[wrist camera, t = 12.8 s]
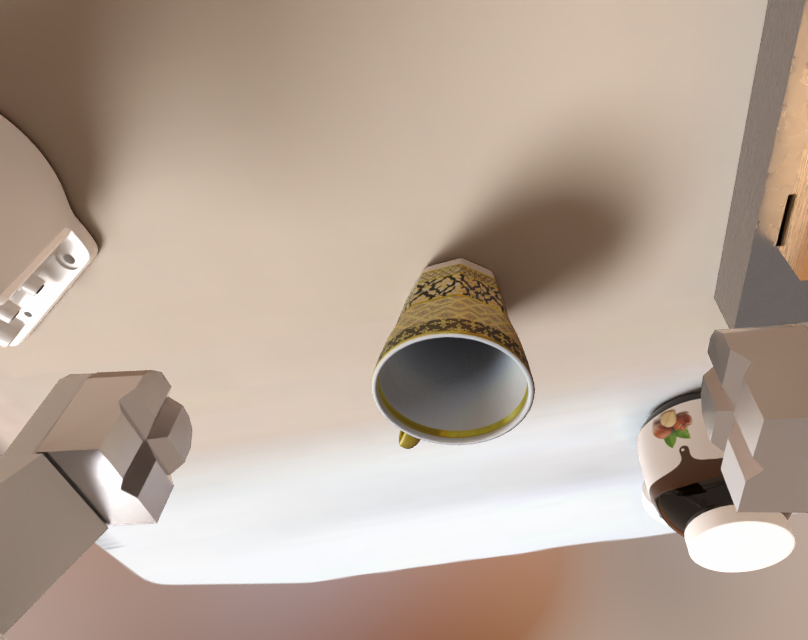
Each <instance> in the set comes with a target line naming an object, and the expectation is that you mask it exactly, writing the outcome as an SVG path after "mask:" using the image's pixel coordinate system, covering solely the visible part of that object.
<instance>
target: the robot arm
mask: <svg viewBox="0 0 808 640" xmlns="http://www.w3.org/2000/svg"><path fill="white" fill-rule="evenodd" d="M97 253H98V247H97V244H96V242H95V241H94V239H93V238H92V236H91V235H90V234H89V232H88V231H87V230H86V229H85V227H84V226H83V225H82V224H81V223H80V222H79V220H78V219H77V218H76V217H75V215H74V214H73V212H72V210H71V208H70V206H69V203H68V201H67V198H66V195H65V193H64V190H63V188H62V186H61V183H60V181H59V180H58V178H57V176H56V174H55V172H54V171H53V169H52V167H51V166H50V165H49V163H48V162H47V160H46V159H45V158H44V156H43V155H42V154H41V152H40V151H39V150H38V149H37V148H36V146H35V145H34V144H33V143H32V142H31V141H30V140H29V139H28V138H27V137H26V136H25V135H24V134H23V133H22V132H21V131H20V130H19V129H18V128H16V127H15V126H14V125H13V124H12V123H11V122H9V121H8V120H7V119H6V118H4V117H3V116H2V115H0V346H1V347H2V348H3V347H5V348H7V347H8V346H17V345H19V344H21V343H22V342H23V341H24V340H25V339H26V338H27V337H28V336H29V335H30V334H31V333H32V331H33V330H34V329H35V328H36V327H37V326H38V324H39V323H40V322H41V321H42V320H43V318H44V317H45V316H46V315H47V314H48V312H49V311H50V310H51V309H52V308H53V307H54V305H55V304H56V303H57V302H58V301H59V299H60V298H61V297H62V296H63V295H64V294H65V292H66V291H67V290H68V289H69V288H70V286H71V285H72V284H73V283H74V282H75V281H76V279H77V278H78V277H79V276H80V275H81V273H82V272H83V271H84V270H85V269H86V268H87V266H88V265H89V264H90V263H91V262H92V260H93V259H94V258H95V257H96V255H97ZM70 255H71V256H72V257H71V256H70ZM708 354H709V357H710V359H711V361H712V364H713V366H714V367H713V368H711V369H710V370H709V371H708V372H707V373H706V374H705V375H703V381H702V388H701V406H702V415H703V419H704V424H705V428H706V430H707V433H708V436H709V439H710V442H711V443H713V444H714V445H715V446H717V447H718V448H719V449H721V450H722V451H723V452H725V453H724V457H723V461H722V466H721V471H722V474H723V477H724V479H725V482H726V484H727V487H728V490H729V492H730V495H731V497H732V500H733V503H734V505H735V508H736V511H737V512H774V513H808V322H805V323H798V324H786V325H773V326H760V327H747V328H735V329H722V330H715V331H714V333H713V334H712V336H711V338H710V342H709V347H708ZM170 390H171V385H170V384H169V382H168V381H167V379H166V378H165V376H164V375H163V374H162V372H158V371H153V370H143V371H121V372H98V373H94V374H70V375H68V376H66V377H64V378H62V379H60V380H59V381H58V382H57V384H56V385H55V386H54V388H53V389H52V390H51V392H50V393H49V394H48V396H47V397H46V398H45V400H44V401H43V402H42V404H41V405H40V406H39V408H38V409H37V410H36V412H35V413H34V414H33V416H32V417H31V418H30V420H29V421H28V422H27V424H26V425H25V426H24V428H23V429H22V431H21V432H20V433H19V435H18V436H17V437H16V439H15V440H14V441H13V443H12V444H11V445H10V447H9V448H8V449H7V451H6V452H5V453H4V455H0V640H9V639H8V638H6V637H5V636H4V634H5V633H6V632H7V631H8V630H9V629H10V628H11V627H12V626H13V625H14V624H15V623H16V622H17V621H18V620H19V619H20V618H21V617H22V616H23V614H25V612H27V610H28V609H29V608H30V607H31V606H32V605H33V604H34V603H35V602H36V601H37V600H38V599H39V598H40V597H41V596H42V595H43V594H44V593H45V592H46V591H47V590H48V589H49V588H50V587H51V586H52V585H53V584H54V583H55V582H56V581H57V580H58V579H59V578H60V577H61V576H62V575H63V574H64V573H65V572H66V571H67V570H68V569H69V568H70V567H71V566H72V565H73V564H74V563H75V562H76V560H78V558H79V557H81V556H82V554H83V553H84V552H85V551H86V550H87V549H88V548H89V547H90V546H91V545H92V544H93V543H94V542H95V541H96V540H97V539H98V538H99V537H100V536H101V535H102V534H103V533H104V532H105V531H106V530H107V529H108V527H107V526H108V525H128V524H149V523H157V522H158V520H159V517H160V515H161V513H162V511H163V509H164V506H165V504H166V502H167V500H168V498H169V495H170V493H171V491H172V489H173V487H174V485H173V482H172V479H171V475H170V474H172V473H173V472H174V471H175V470H176V469H177V468H179V467H180V466H181V465H182V464H183V463H184V462H185V460H186V457H187V455H188V453H189V450H190V448H191V439H192V426H191V422H190V418H189V415H188V414H187V412H186V410H185V408H184V407H183V406H182V405H181V404H179V403H178V402H176V401H174V400H173V399H171V398H170V397H169V393H170Z"/></svg>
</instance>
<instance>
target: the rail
mask: <svg viewBox="0 0 808 640" xmlns="http://www.w3.org/2000/svg"><path fill="white" fill-rule="evenodd" d="M807 136H808V0H768V6H767V11H766V17H765V22H764V28H763V33H762V39H761V44H760V50H759V55H758V61H757V66H756V71H755V77H754V82H753V88H752V93H751V99H750V104H749V110H748V115H747V121H746V126H745V132H744V137H743V143H742V148H741V154H740V159H739V165H738V170H737V176H736V181H735V187H734V192H733V198H732V203H731V209H730V214H729V219H728V225H727V230H726V236H725V241H724V247H723V252H722V258H721V263H720V269H719V274H718V280H717V285H716V291H715V296H714V299H715V301H716V303H717V305H718V307H719V309H720V311H721V313H722V315H723V317H724V319H725V321H726V323H727V325H728V327H729V329H735V328H747V327H760V326H773V325H786V324H798V323H805V322H808V280H802V281H800V280H799V278H798V277H797V275H796V274H795V272H794V271H793V269H792V268H791V267H790V265H789V264H788V262H787V261H786V259H785V258H784V256H783V255H782V254H781V252H780V251H779V249H780V245H781V241H782V237H783V233H784V230H783V229H782V228H781V222H782V218H783V214H784V210H785V206H786V202H787V198H788V195H790V194H793V193H794V189H795V185H796V181H797V176H798V172H799V168H800V164H801V160H802V156H803V152H804V148H805V144H806V140H807Z"/></svg>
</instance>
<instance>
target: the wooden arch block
mask: <svg viewBox="0 0 808 640" xmlns="http://www.w3.org/2000/svg"><path fill="white" fill-rule="evenodd" d="M781 228H782V229H783V230H784V233H783V237H782V241H781V245H780V249H779V251H780V252H781V254H782V255H783V256H784V258H785V259H786V261H787V262H788V264H789V265H790V267H791V268H792V269H793V271H794V272H795V274H796V275H797V277H798V278H799V280H800V281H802V280H808V136H807V140H806V144H805V148H804V152H803V156H802V160H801V164H800V168H799V172H798V176H797V181H796V185H795V189H794V193H793V194H790V195H788V198H787V202H786V206H785V210H784V214H783V218H782V222H781Z"/></svg>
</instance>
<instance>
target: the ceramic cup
mask: <svg viewBox="0 0 808 640" xmlns="http://www.w3.org/2000/svg"><path fill="white" fill-rule="evenodd" d="M371 388H372V395H373V398H374V401H375V404H376V406H377V407H378V409H379V411H380V412H381V413H382V415H383V416H384V417H385V418H386V419H387V420H388V421H389V422H390V423H391V424H393V425H394V426H395V427H397V428H398V429H400V430H401V431H400V436H399V445H400V446H401V447H403V448H406V449H410V448H413V447H414V446H415V445H417V444H418V442H419V441H420V440H425V441H428V442H433V443H438V444H446V445H467V444H475V443H480V442H484V441H488V440H492V439H494V438H497V437H499V436H501V435H504V434H505V433H507V432H509V431H510V430H512V429H513V428H514V427H516V426H517V425H518V424H519V423H520V422H521V421H522V420H523V419H524V418H525V417H526V415H527V413H528V412H529V410H530V408H531V406H532V403H533V400H534V393H535V388H534V382H533V378H532V375H531V371H530V367H529V364H528V361H527V358H526V356H525V353H524V350H523V347H522V345H521V342H520V340H519V338H518V336H517V334H516V332H515V330H514V328H513V326H512V324H511V322H510V320H509V317H508V314H507V311H506V307H505V304H504V301H503V298H502V296H501V293H500V290H499V287H498V284H497V281H496V279H495V276H494V274H493V273H492V271H491V270H489V269H486V268H484V267H482V266H480V265H477V264H475V263H473V262H470V261H468V260H466V259H463V258H458V259H454V260H451V261H447V262H443V263H439V264H435V265H431V266H428V267H426V268H425V269H424V270H423V271H422V273H421V275H420V276H419V278H418V280H417V282H416V283H415V285H414V287H413V288H412V290H411V292H410V294H409V296H408V298H407V300H406V302H405V305H404V308H403V310H402V312H401V315H400V317H399V319H398V322H397V324H396V326H395V328H394V329H393V331H392V333H391V334H390V336H389V337H388V339H387V341H386V343H385V346H384V348H383V350H382V352H381V354H380V357H379V359H378V362H377V364H376V367H375V370H374V373H373V376H372V382H371Z"/></svg>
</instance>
